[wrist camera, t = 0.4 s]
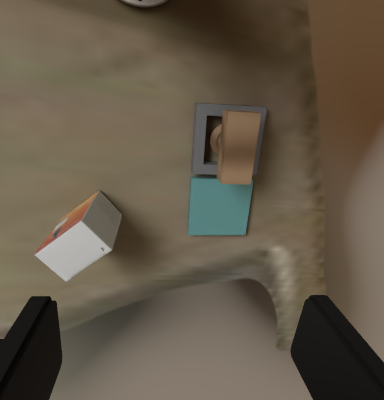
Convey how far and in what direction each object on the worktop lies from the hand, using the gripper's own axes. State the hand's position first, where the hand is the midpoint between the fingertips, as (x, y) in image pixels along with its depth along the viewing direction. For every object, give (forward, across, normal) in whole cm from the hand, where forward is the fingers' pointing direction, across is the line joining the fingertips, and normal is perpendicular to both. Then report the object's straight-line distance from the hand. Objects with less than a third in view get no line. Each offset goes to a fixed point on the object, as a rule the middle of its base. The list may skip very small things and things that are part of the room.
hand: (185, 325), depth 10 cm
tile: (+33, -9, +8) cm, 35 cm away
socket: (+33, -9, -3) cm, 34 cm away
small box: (+33, +11, +11) cm, 37 cm away
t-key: (+33, -9, -3) cm, 34 cm away
